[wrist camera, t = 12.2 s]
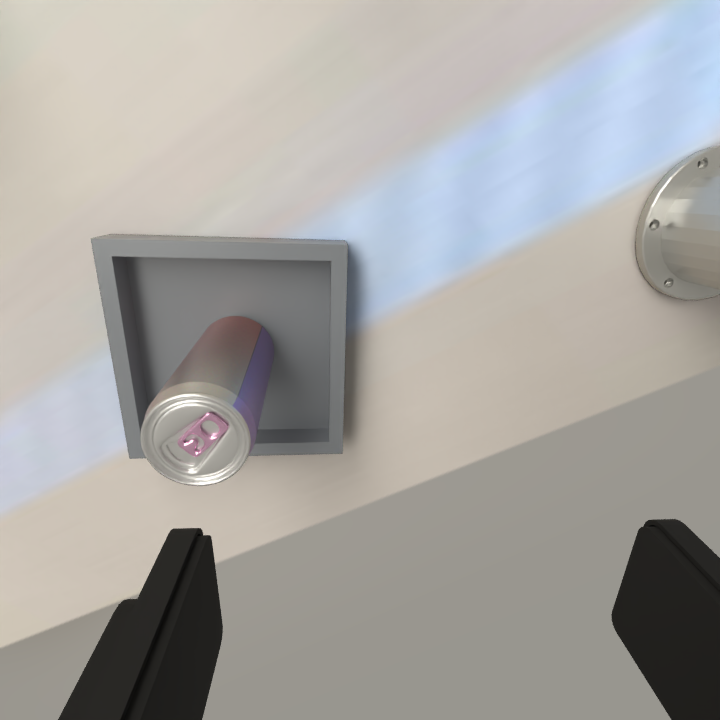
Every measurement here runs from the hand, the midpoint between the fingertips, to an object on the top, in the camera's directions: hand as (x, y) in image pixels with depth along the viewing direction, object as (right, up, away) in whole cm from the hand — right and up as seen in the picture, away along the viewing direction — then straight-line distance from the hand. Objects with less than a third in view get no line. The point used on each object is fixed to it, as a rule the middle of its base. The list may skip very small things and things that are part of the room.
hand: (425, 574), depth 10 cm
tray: (-12, +6, +28) cm, 31 cm away
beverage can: (-12, +6, +28) cm, 31 cm away
